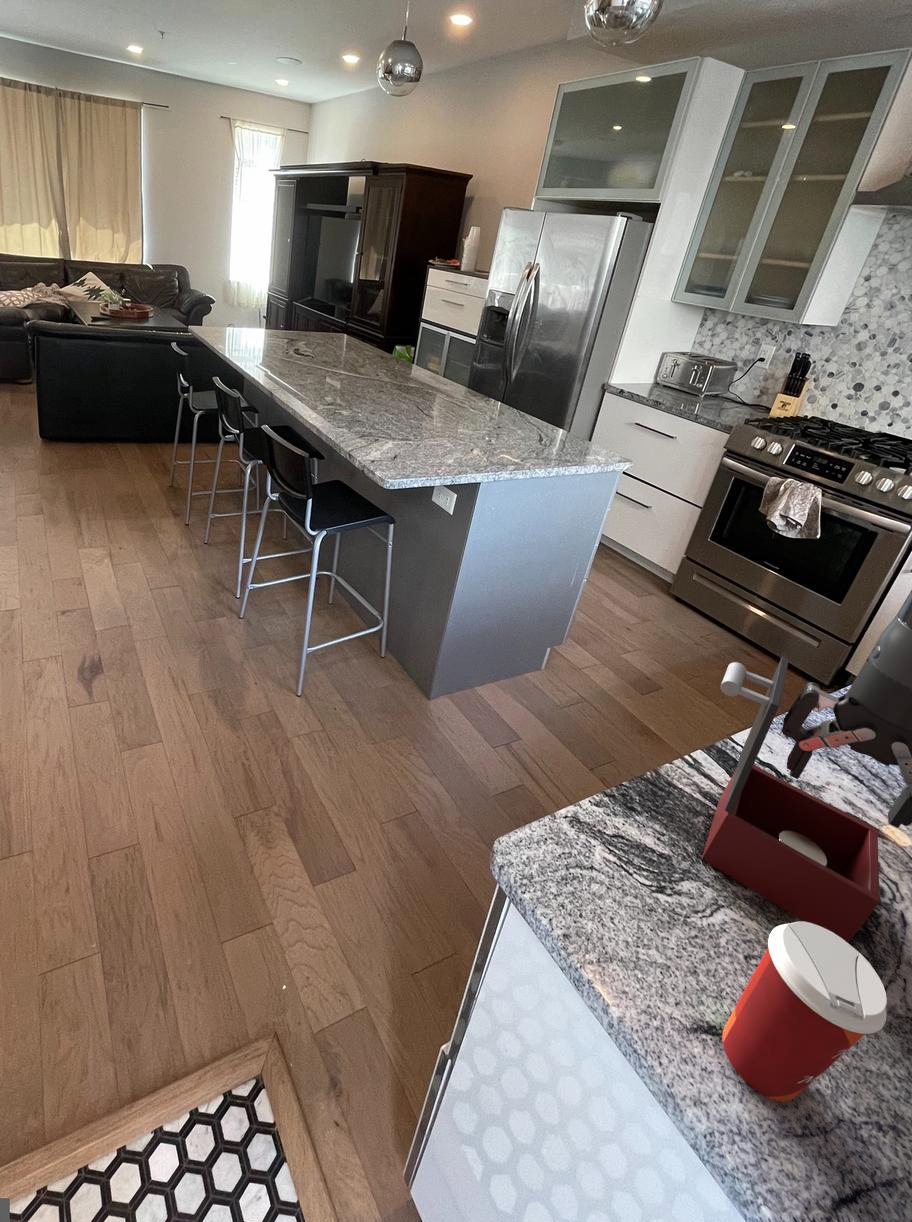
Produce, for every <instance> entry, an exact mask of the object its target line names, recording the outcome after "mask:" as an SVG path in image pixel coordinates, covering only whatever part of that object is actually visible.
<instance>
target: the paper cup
mask: <svg viewBox="0 0 912 1222" xmlns="http://www.w3.org/2000/svg"><path fill="white" fill-rule="evenodd" d="M749 979H750V980H749V981H748V983H747V985H746V986H745V989H744V990H743V992H742V994H741V996H740V998H739V999H738V1001H737V1003H736V1004H735V1007H734V1008H733V1011H732V1012H731V1014H730V1016H729V1018H728V1020H727V1022H726V1024H725V1025H724V1028H723V1030H722V1035H721V1036H722V1037H721V1038H722V1046H723V1048H724V1052H725V1054H726V1056H727V1059H728V1061H729V1062H730V1064H731V1066H732V1067H733V1069H734V1070H735V1071H736V1073H737V1074H738V1075H739V1076H740V1077H741V1079H742V1080H743V1081H744V1082H745V1083H746V1084H747V1085H748V1086H750V1087H751V1088H752V1089H753V1090H754V1091H755V1092H757V1093H758V1094H760V1095H762V1096H763V1097H765V1098H767V1099H769V1100H772V1101H775V1102H780V1103H781V1102H782V1103H785V1102H790V1101H791V1100H793V1099H794V1098H796V1097H797V1096H798V1095H799V1094H801V1092H803V1091H804V1090H805V1089H807V1088H808V1087H809V1086H810V1085H811V1084H812V1083H813V1082H814V1081H815V1080H816V1079H818V1078H819V1077H820V1076H821V1075H822V1074H823V1073H824V1072H826V1070H828V1069H829V1068H830V1067H831V1066H832V1065H834V1063H836V1061H838V1060H839V1059H840V1058H841V1057H842V1056H843V1055H844V1054H846V1052H848V1050H850V1049H851V1048H852V1047H853V1046H854V1045H855V1044H856V1043H858V1042H859V1041H860V1040H861V1039H862V1038H863V1037H864V1036H865V1035H869V1034H874V1033H877V1032H879V1031H881V1029H882V1028H883V1027H884V1026H885V1024H886V1021H887V1003H888V999H887V998H888V997H887V993H886V990H885V986H884V984H883V982H882V980H881V978H880V976H879V975H878V973H877V972H876V970H875V969H874V967H873V966H872V965H871V963H870V962H869V961H868V960H867V959H866V958H865V956H863V954H861V953H860V951H858V950H857V949H856V948H855V947H853V946H852V945H851V944H849V943H847V942H846V941H844V940H843V939H842V938H840V937H839V936H837V935H836V934H834V933H833V932H831V931H829V930H827V929H825V928H823V927H820V926H818V925H815V924H812V923H808V922H804V921H795V922H794V921H793V922H791V923H784V924H780V925H777V926H775V927H774V928H773V929H771V931H770V934H769V936H768V939H767V948H766V950H765V952H764V954H763V956H762V958H761V960H760V962H759V963H758V965H757V967H756V968H755V970H754V972H753V974H752V976H751V977H750V978H749Z"/></svg>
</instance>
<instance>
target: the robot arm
mask: <svg viewBox="0 0 912 1222" xmlns="http://www.w3.org/2000/svg"><path fill="white" fill-rule="evenodd" d="M828 708H829V709H832V712H833V715H834V718H831V719H827V720H824V721H822V722H821V723H820V724H818V725H814V726H810V727H807V728H806V727H804V726H803V725H804V723H805V722H806V720H807V719H808V717H809V716H810V714H811V713H812V712H814V713H815V712H822V711H823V710H824V709H828ZM782 721H783V722H782V723H783V724H782V727H781V733H782V735H783V736H784V737H786V738H790V739H791V740H793V741H794V742H795V744H794V745H793V747H792V749H791V751H790V752H789V754H788V756H787V760H786V769H787V770H789V771H790V772H789V776H790V777H792V778H794V779H795V780H799V779H800V777H801V775H802V774H803V772H804V770H805V768H806V767H807V765H808V763H809V762H810V760H811V758H812V756H813V753H814V752H813V751H815V750H819V749H823V748H828V749H833V748H837V747H841V746H845V745H847V746H849V747H850V749H849V750H851V751H852V752H854V753H857V754H861V755H865V756H867V757H870V758H872V759H874V760H875V761H876V762H878V763H879V764H882V765H884V766H886V767H890V766H894V767H895V766H896V767H897V766H898V768H899V770H900V772H901V775H902V777H903V780H904V783H905V784H906V785H905V786H904V788H903V789H902V791H901V792H900V794H899V795H898V797H897V798H896V799H895V801H894V803H892V805H891V807H890V808H889V810H888V812H887V823H888V825H890V826H892V827H895V828H896V829H899V828H900V826H904V827H908V826H910V825H912V589H911V590H910V592H909V594H908V595H907V597H906V598H905V600H904V602H903V604H902V605H901V607H900V609H899V611H898V613H897V614H895V616H894V618H893V619H892V620H891V621H890V622H889V624H888V625H887V626H886V627H885V629H884V630H883V631H882V633H881V634H880V636H879V637H878V639H877V641H876V643H875V644H874V646H873V647H872V649H871V651H870V653H869V655H868V656H867V658H866V660H865V662H864V663H863V665H862V667H861V668H860V670H859V672H858V674H857V675H856V677H855V679H854V681H853V682H852V684H851V685H850V687H849V689H848V691H847V692H846V693H845V694H843V695H841V696H839V697H837V696H834V695H832V694H830V693H828V692H826V691H824V690H821V688H820V685H819V684H818V683H816V682H813V681H810V682H807V683H806V684H805V686H804V687H803V689H802V690H801V692H800V693H799V695H797V698H796V699H795V701H794V702H793V704H792V705H791V707H790V708H789V710H788V711H787V713H786V714H785V716H784V717H783V720H782Z"/></svg>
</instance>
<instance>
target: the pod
mask: <svg viewBox="0 0 912 1222" xmlns="http://www.w3.org/2000/svg"><path fill="white" fill-rule="evenodd" d="M778 840H779V841H781V842H783V843H785V844H786V845H788V846H790V847H792V848H794V849H795V850H797V851H799V852H801V853H802V854H804V855H806V856H808V857H809V858H811V859H813V860H815V861H817V862H818V863H820V864H822V865H824V866H825V867H826V865H827V858H826V856H825V854H824V853H823V851H822V850H821V849H820V848H819V847H818V846H817V845H816V844H815V843H814V842H813V841H811V840H810V839H808V838H807V837H805V836H803V835H801V834H799V833H797V832H793V831H782V832H781V833H780V834H779V836H778Z"/></svg>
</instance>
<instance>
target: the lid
mask: <svg viewBox="0 0 912 1222" xmlns="http://www.w3.org/2000/svg"><path fill="white" fill-rule="evenodd" d="M789 661H790V659H789V658H787V657H785V656H781V657H780V661H779V662H778V665H777V667H776V669H775V672H774V673H773V676H772V679H768V678H766V677H763V676H760V675H758V674H756V673H753V672H751V671H748V670H747V667H746V666H745V665H744V664H742V663H740V662H737V661H734V662H731V663H729V664H728V666H727V668H726V670H725V674H724V677H723V679H722V681H721V684H720V690H721V692H722V693H723V694H724V695H726V696H728V697H737V696H741V697H744V698H746V699H748V700H751V701H753V702H756V703H759V704H760V707H759V710H758V712H757V714H756V717H755V719H754V722H753V724H752V726H751V728H750V731H749V733H748V735H747V737H746V740H745V742H744V745H743V747H742V750H741V752H740V753H739V757H738V761H737V764H736V768H735V771H736V772H735V771H734V772H735V775H734V779H733V782H732V786H731V790H730V793H729V797H728V800H727V804H726V808H725V811H726V812H728V813H730V814H732V813H733V810H734V808H735V806H736V804H737V801H738V799H739V797H740V794H741V792H742V790H743V788H744V785H745V783H746V781H747V778H748V776H749V774H750V772H751V769H752V767H753V765H754V766H755V762H756V760H757V758H758V755H759V753H760V752H761V749H762V746H763V744H764V742H765V739H766V737H767V735H768V733H769V731H770V729H771V726H772V724H773V722H774V719H775V717H776V714H777V712H778V710H779V708H780V703H781V700H782V695H783V690H784V685H785V681H786V675H787V670H788V667H789ZM745 680H746V681H749V682H752V683H755V684H757V685H759V686H762V687H764V688H767V690H766V693H765V695H763V694H761V693H758V692H756V691H754V690H751V689H749V688H746V687H743V684H744V682H745Z"/></svg>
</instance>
